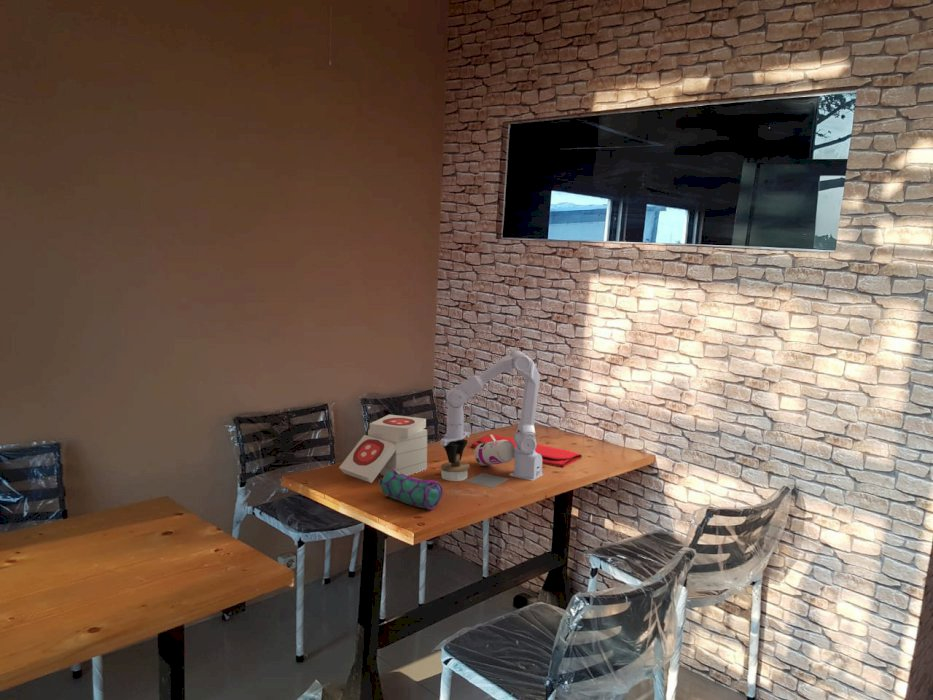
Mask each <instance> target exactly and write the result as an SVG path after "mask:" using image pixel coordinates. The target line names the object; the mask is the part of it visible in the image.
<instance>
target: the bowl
mask: <svg viewBox="0 0 933 700" xmlns="http://www.w3.org/2000/svg"><path fill="white" fill-rule="evenodd" d="M468 471H469V470H467V471H463V472H447V471H443V470H442V469H441V478H442V480H444V481H448V482H449V481H450V482H460V481H461V482H462V481H466V480H468Z"/></svg>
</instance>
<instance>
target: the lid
mask: <svg viewBox="0 0 933 700" xmlns="http://www.w3.org/2000/svg"><path fill="white" fill-rule="evenodd" d="M470 469H471V465H470V464H469V463H468V462H464V461H460V454H458V453H456V459H455V463H449V461H448V462H445V463H442V464H441V465H440V470H441V471H442V470H443V471H447V472H463V471H467V470H468V471H469V470H470Z"/></svg>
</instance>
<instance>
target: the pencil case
mask: <svg viewBox="0 0 933 700" xmlns="http://www.w3.org/2000/svg"><path fill="white" fill-rule="evenodd" d="M377 481H378V482H377V485H379V486H381V491H382V493H383V494H384V495H385V496H387V497H389V498H390V499H394V500H396V501H399V502H401V503H404V504H407V505H409V504H410V506H414V507H416V506H417V507H416V508H422V509H427V510H429V511H433V510H434V509H436V507H437V505H438V504H439V503H440V501H441V500H442V497H443V495H444V494H443V493H444V492H443V491H444V489H443V486H442V484H441V483H440V482H439V481H437V480H431V479H421V478H416V477H411V476H410V475H409V476H406V475H404V474H402V473H400V472H399V471H398V469H396V468H393V469H391V470H389V471H388V472H387V473H386V474H385V475H383V477H382V478H378V480H377Z"/></svg>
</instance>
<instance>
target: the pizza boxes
mask: <svg viewBox="0 0 933 700" xmlns="http://www.w3.org/2000/svg"><path fill="white" fill-rule="evenodd" d="M426 427H427V418H424V417H423V418H422V417H414V416H406V415H395V414H390V413H389V414H387V415H385V416H383V417H381V418H378V419H376V420H375V421H373V422H370V423H369V429H367V435H366V434H364V435H363V436H362V437H361V439H359V441H358V442H357V443H356V445H355V446H354V447H353V449H352V451H351V452H350V453H349V454H348V455H347V457H346V458H345V459H344V461H342V463H341V464H340V466H339V467H338V469H340V470H341V472H342V473H343V474H345V475H348V476H351V477H353V478H357V479H360V480H361V481H364V482H367V483H371V484H372V483H373V482H374V480H375V479H376V478H377V477H378V475H382V474H383V475H382V476H384V475H385V474H386V473H387V472H388V471H389V470H391V469H393V468H396V469H398V471H399V472H400V473H402V474H404V475H406V476H408V475H409V476H411V474H412V475H415V474H414V473H416V474H418V472H419V473H421V471H422V472H424V471H423V470H425V471H427V470H428V429H425V428H426ZM426 469H427V470H426ZM379 473H380V474H379Z"/></svg>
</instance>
